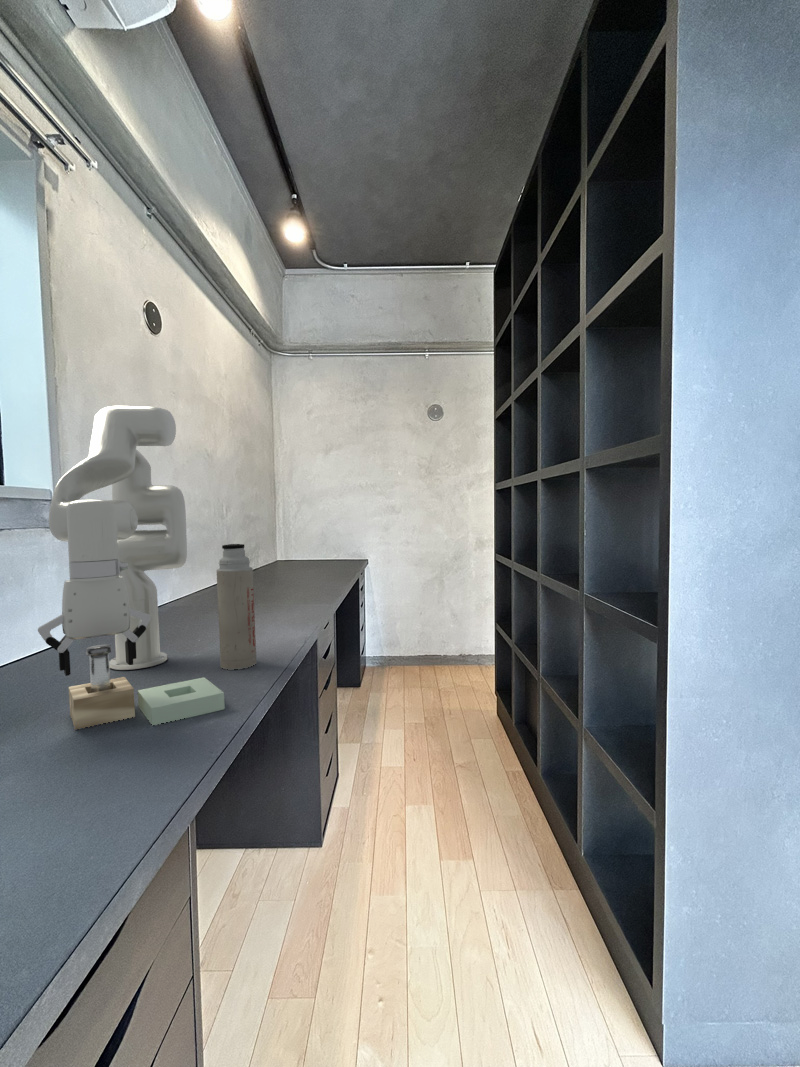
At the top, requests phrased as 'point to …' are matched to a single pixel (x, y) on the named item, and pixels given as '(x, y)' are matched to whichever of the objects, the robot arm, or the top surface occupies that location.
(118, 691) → the frame
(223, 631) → the thermos bottle
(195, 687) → the dock
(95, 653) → the pin
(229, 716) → the top surface
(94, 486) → the robot arm
